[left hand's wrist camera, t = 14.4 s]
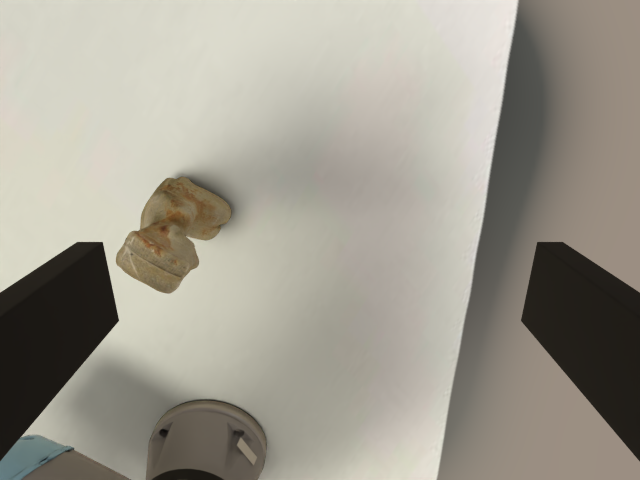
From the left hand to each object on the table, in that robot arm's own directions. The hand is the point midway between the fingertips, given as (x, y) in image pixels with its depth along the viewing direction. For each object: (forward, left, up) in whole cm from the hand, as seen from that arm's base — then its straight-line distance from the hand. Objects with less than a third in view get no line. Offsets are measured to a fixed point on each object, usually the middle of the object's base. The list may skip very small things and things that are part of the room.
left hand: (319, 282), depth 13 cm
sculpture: (-6, +13, -30) cm, 34 cm away
